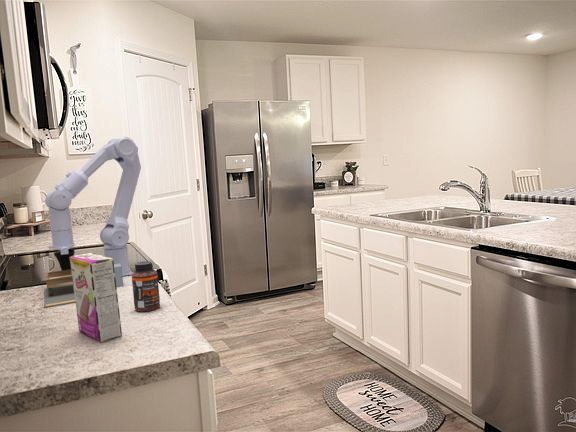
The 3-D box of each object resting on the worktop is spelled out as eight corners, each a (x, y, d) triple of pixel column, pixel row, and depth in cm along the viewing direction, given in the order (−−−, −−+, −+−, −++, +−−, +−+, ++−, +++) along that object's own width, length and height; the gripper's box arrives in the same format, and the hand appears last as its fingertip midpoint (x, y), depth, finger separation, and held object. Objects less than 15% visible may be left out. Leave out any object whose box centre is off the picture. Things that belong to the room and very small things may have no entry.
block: (105, 285, 142) (103, 265, 141) (121, 283, 144) (119, 263, 143) (107, 289, 138) (105, 268, 137) (123, 286, 140) (121, 266, 139)
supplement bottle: (144, 313, 112) (140, 266, 111) (129, 310, 115) (124, 264, 114) (165, 306, 117) (161, 260, 115) (150, 303, 120) (145, 259, 119)
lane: (44, 289, 142) (44, 288, 142) (91, 282, 147) (91, 280, 147) (44, 308, 122) (43, 306, 122) (98, 298, 128) (98, 297, 128)
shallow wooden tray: (48, 288, 141) (46, 272, 140) (88, 282, 146) (86, 266, 145) (48, 297, 131) (45, 280, 130) (91, 289, 136) (89, 273, 135)
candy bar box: (77, 331, 102) (68, 256, 100) (100, 325, 106) (91, 251, 104) (99, 344, 94) (89, 262, 92) (123, 336, 98) (114, 257, 96)
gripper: (46, 229, 149) (52, 272, 150) (46, 234, 136) (52, 281, 137) (71, 226, 152) (76, 268, 154) (73, 231, 139) (79, 277, 141)
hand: (67, 274), depth 146 cm, fingers closed
